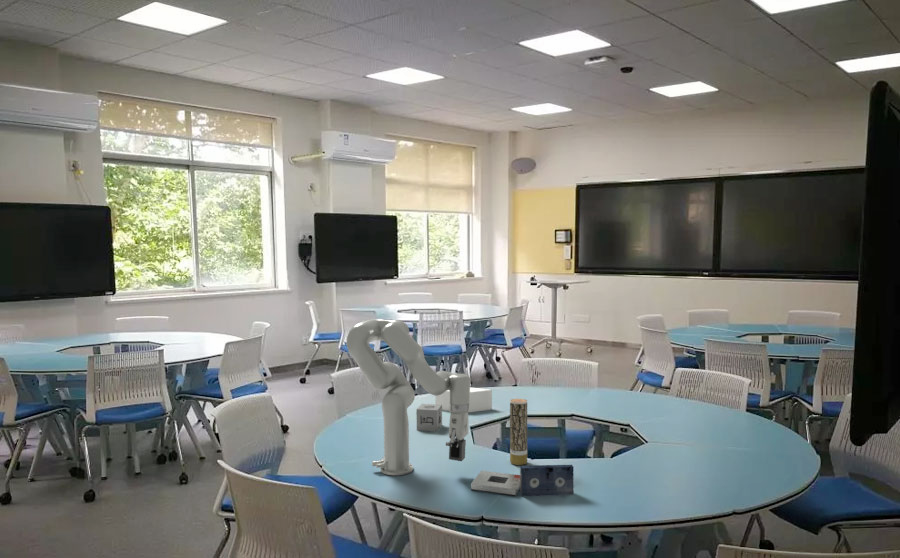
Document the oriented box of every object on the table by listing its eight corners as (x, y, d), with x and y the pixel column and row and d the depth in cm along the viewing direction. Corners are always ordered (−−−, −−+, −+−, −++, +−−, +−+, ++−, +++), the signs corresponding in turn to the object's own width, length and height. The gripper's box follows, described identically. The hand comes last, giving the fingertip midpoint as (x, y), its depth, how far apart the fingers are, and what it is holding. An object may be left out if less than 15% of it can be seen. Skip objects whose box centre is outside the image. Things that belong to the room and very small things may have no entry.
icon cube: (416, 430, 281) (416, 409, 280) (422, 424, 291) (422, 403, 290) (437, 431, 279) (437, 410, 278) (442, 425, 289) (441, 404, 288)
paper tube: (518, 467, 232) (518, 403, 231) (506, 462, 238) (506, 400, 236) (530, 463, 236) (530, 401, 235) (519, 458, 242) (519, 397, 240)
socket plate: (471, 490, 210) (471, 481, 210) (481, 477, 222) (481, 468, 222) (515, 496, 205) (515, 487, 204) (523, 482, 217) (523, 474, 217)
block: (436, 405, 325) (436, 386, 325) (491, 405, 324) (491, 386, 324) (434, 413, 310) (434, 393, 310) (492, 413, 310) (492, 393, 309)
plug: (443, 458, 224) (444, 440, 223) (447, 455, 228) (448, 437, 227) (461, 461, 222) (462, 442, 221) (464, 457, 225) (465, 439, 225)
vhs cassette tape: (572, 492, 208) (572, 464, 208) (574, 495, 205) (574, 467, 205) (519, 493, 208) (519, 465, 207) (521, 496, 205) (521, 468, 204)
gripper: (461, 414, 214) (459, 464, 215) (475, 403, 230) (473, 449, 231) (441, 411, 217) (439, 460, 218) (456, 400, 232) (454, 446, 233)
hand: (457, 454), depth 224 cm, fingers closed on plug, 4 cm apart
